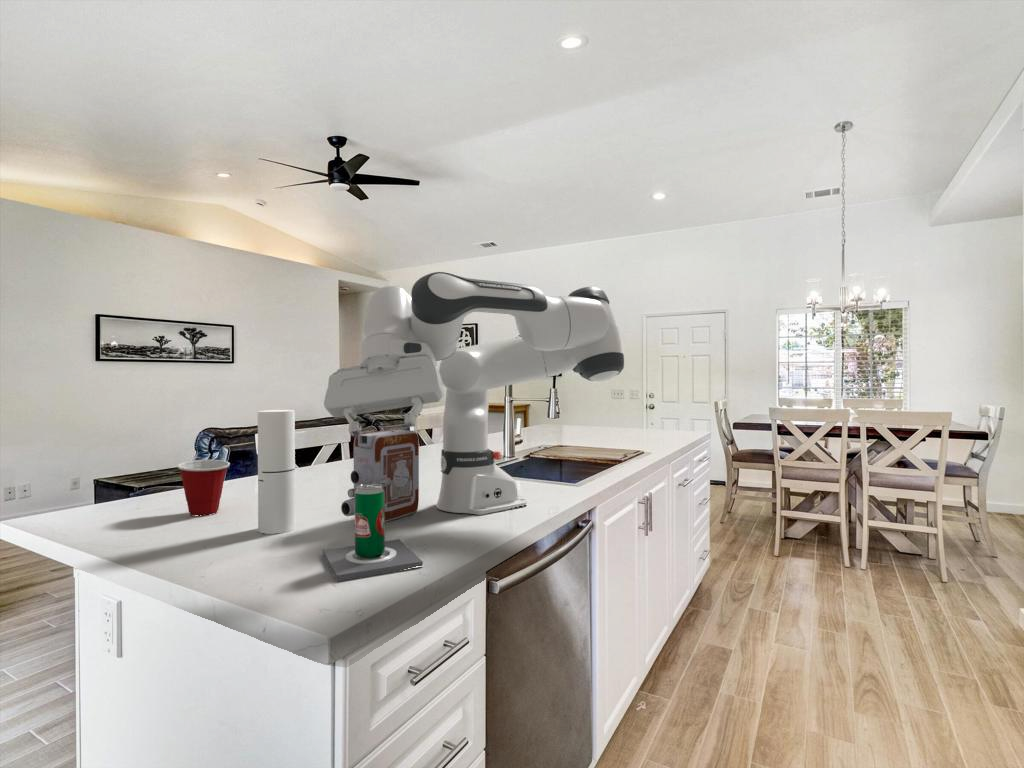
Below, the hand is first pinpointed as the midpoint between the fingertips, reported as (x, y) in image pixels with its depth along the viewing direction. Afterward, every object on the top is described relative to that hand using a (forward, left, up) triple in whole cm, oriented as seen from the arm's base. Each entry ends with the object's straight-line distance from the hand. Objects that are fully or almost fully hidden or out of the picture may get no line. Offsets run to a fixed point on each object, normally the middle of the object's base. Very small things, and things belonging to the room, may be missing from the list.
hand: (382, 429), depth 89 cm
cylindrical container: (+13, -35, -24) cm, 45 cm away
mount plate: (0, -6, -24) cm, 24 cm away
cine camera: (-8, -33, -24) cm, 42 cm away
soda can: (+1, -6, -23) cm, 23 cm away
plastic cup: (+27, -57, -24) cm, 68 cm away
